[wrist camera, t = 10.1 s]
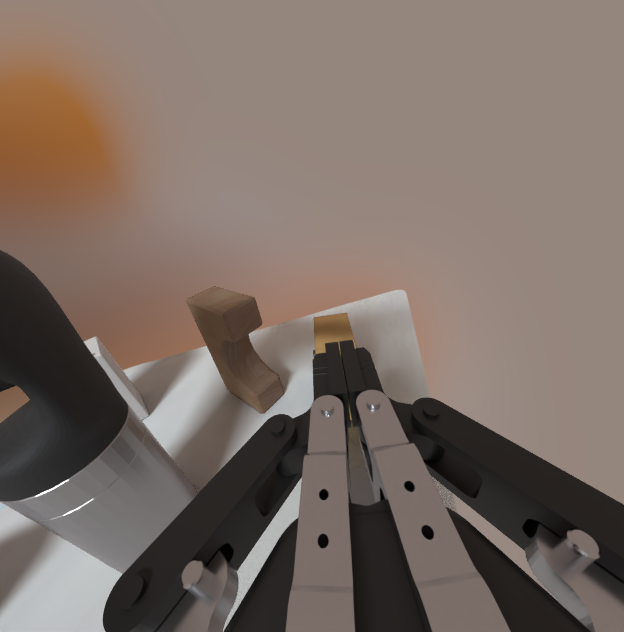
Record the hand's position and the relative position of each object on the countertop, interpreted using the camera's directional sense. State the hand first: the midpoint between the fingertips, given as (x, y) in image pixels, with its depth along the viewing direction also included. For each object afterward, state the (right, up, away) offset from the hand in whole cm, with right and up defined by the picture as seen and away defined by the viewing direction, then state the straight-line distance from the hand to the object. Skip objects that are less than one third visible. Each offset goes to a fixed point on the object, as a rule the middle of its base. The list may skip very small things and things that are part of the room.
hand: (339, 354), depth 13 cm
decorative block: (-12, -12, +33) cm, 37 cm away
